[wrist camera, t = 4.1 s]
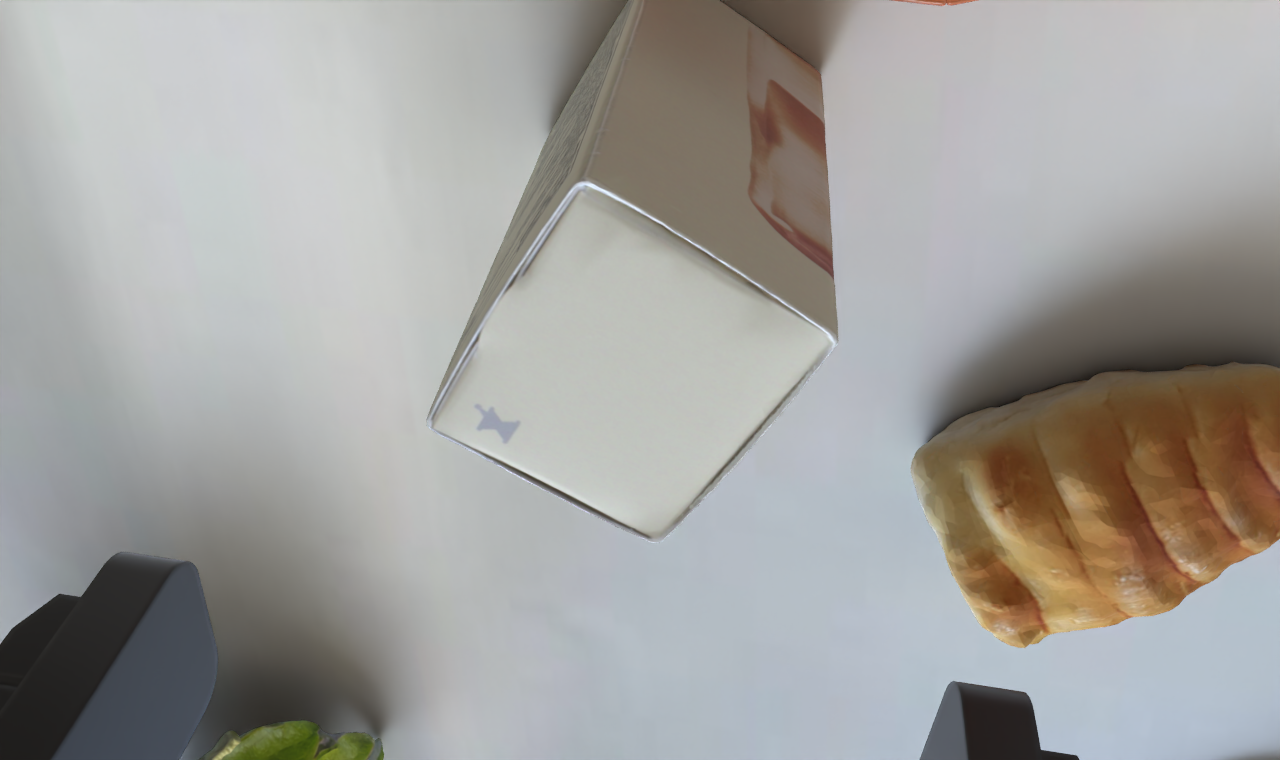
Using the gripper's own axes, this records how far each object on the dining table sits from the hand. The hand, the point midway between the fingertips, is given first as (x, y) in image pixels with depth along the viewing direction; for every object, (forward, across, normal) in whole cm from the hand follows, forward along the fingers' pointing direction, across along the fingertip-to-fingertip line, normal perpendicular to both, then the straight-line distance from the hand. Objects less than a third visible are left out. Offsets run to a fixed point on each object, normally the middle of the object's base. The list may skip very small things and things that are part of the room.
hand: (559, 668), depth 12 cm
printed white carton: (+15, 0, 0) cm, 15 cm away
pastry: (+15, -11, +8) cm, 20 cm away
